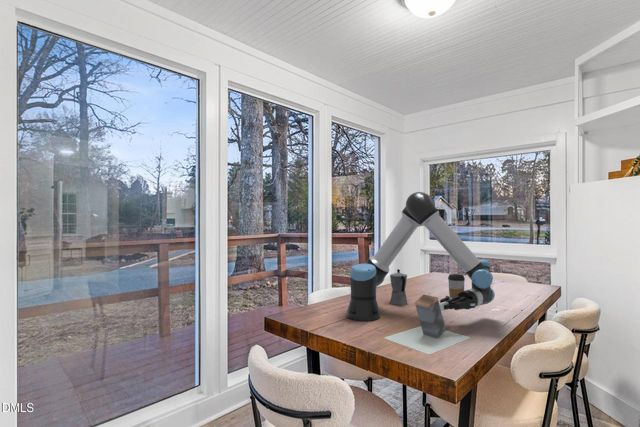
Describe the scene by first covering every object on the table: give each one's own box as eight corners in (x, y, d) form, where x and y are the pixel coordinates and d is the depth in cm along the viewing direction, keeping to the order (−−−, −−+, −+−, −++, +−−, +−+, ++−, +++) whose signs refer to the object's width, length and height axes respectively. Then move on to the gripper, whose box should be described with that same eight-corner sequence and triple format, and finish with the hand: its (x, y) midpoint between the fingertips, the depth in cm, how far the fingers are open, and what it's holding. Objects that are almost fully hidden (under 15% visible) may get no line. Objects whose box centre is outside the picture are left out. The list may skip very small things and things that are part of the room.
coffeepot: (386, 300, 188) (386, 267, 188) (403, 300, 189) (402, 267, 189) (395, 307, 173) (395, 272, 173) (413, 307, 174) (413, 271, 174)
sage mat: (429, 356, 112) (429, 354, 112) (383, 339, 128) (383, 337, 128) (471, 338, 127) (471, 337, 127) (425, 325, 143) (425, 324, 143)
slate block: (437, 338, 126) (428, 305, 123) (423, 334, 131) (414, 302, 128) (446, 329, 130) (437, 297, 127) (432, 325, 135) (423, 294, 132)
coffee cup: (450, 301, 186) (450, 273, 186) (466, 303, 181) (466, 274, 182) (446, 304, 179) (445, 275, 180) (463, 306, 174) (462, 277, 175)
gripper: (484, 311, 139) (453, 321, 125) (455, 304, 150) (422, 314, 135) (484, 292, 139) (452, 301, 125) (455, 287, 150) (422, 295, 135)
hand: (437, 308), depth 130 cm, fingers closed
